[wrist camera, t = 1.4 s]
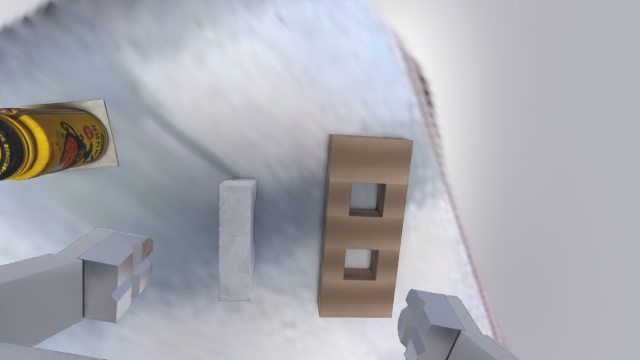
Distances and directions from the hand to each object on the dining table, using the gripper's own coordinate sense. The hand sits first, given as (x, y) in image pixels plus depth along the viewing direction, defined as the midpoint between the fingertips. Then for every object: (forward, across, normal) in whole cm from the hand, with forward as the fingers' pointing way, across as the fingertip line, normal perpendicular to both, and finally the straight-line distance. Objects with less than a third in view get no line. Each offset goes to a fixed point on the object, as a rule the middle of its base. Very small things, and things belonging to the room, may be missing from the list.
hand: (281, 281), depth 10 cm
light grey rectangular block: (+26, -5, -12) cm, 29 cm away
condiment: (+26, -25, -6) cm, 37 cm away
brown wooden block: (+27, +9, -10) cm, 30 cm away
